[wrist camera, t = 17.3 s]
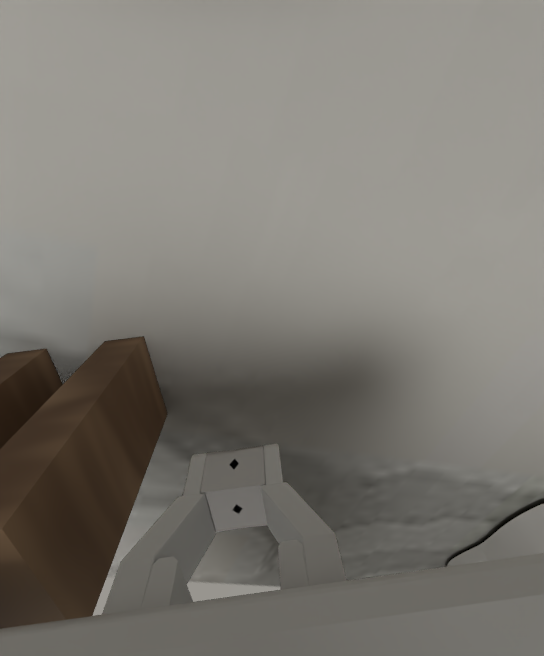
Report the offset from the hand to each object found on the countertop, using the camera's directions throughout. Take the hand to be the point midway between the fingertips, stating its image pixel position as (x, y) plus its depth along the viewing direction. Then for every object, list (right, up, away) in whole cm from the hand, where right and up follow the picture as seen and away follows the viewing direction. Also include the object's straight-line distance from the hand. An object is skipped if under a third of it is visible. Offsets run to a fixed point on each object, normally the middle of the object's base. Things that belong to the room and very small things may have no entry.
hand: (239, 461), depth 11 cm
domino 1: (-6, +2, +6) cm, 9 cm away
